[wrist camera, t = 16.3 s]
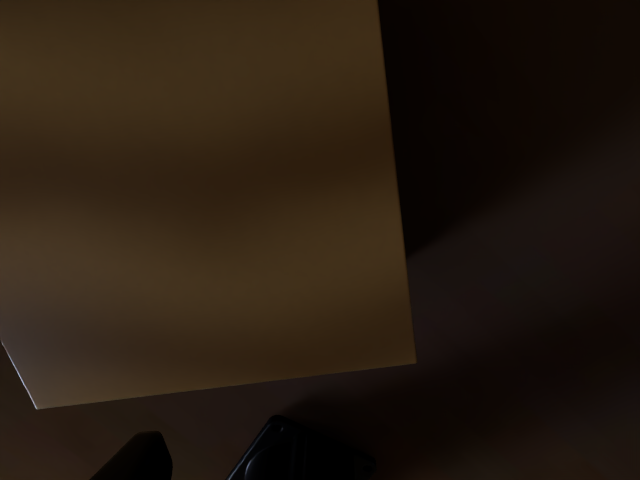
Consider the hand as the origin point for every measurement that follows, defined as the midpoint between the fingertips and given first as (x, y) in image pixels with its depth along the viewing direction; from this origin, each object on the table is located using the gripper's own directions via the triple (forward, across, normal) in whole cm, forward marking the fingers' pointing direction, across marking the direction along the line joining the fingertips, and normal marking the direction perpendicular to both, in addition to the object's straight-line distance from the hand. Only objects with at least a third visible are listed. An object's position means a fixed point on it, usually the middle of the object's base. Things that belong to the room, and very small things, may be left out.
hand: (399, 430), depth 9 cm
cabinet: (+13, +6, -3) cm, 15 cm away
